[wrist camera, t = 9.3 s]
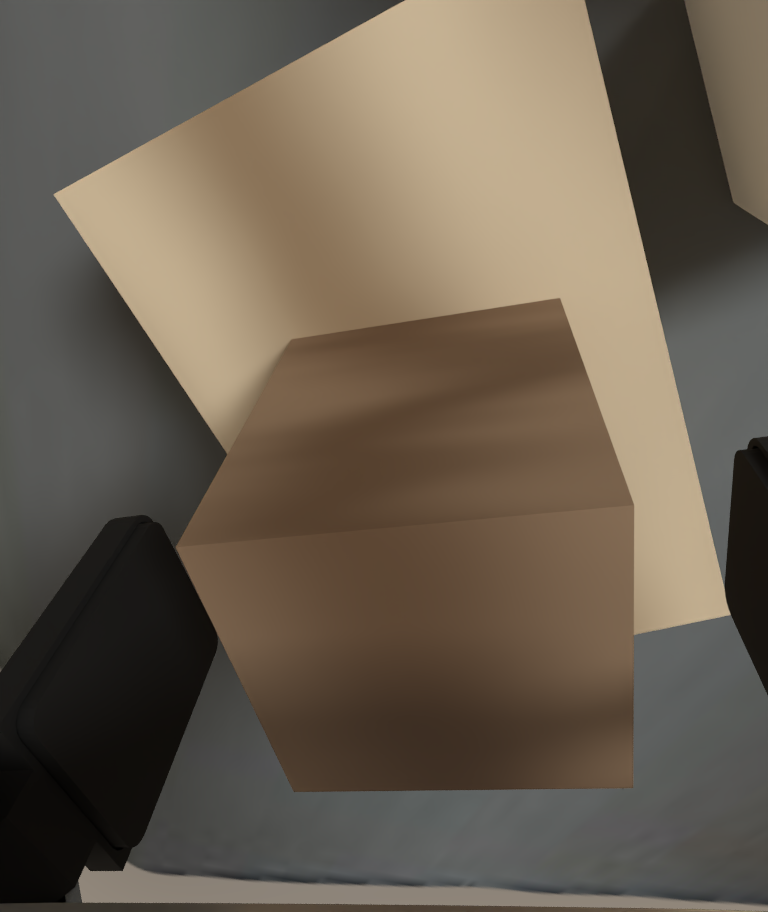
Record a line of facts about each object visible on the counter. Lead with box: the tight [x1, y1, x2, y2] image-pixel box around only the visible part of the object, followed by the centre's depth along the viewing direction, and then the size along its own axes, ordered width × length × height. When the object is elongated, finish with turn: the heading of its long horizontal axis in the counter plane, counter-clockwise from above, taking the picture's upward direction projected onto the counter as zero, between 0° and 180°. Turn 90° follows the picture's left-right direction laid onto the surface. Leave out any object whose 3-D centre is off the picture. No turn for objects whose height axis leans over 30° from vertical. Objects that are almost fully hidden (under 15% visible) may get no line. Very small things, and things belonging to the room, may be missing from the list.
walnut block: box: [176, 298, 634, 792], centre depth 11 cm, size 5×5×6 cm
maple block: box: [54, 0, 730, 635], centre depth 16 cm, size 9×14×6 cm, turn 24°
